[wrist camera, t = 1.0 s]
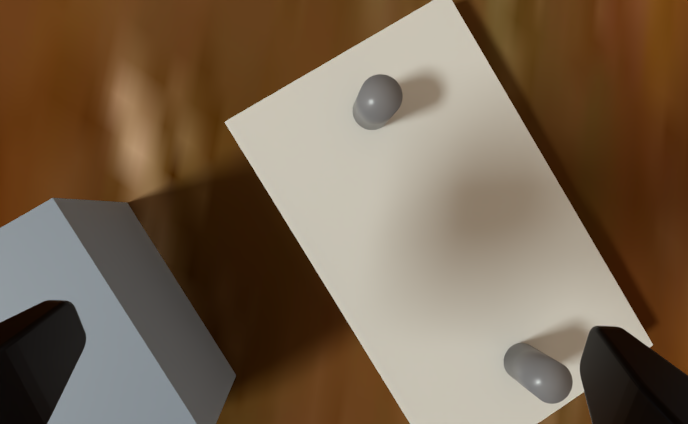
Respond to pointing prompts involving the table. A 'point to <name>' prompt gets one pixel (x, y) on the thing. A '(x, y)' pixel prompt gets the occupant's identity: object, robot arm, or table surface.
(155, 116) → the table surface
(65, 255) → the block
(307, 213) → the base
